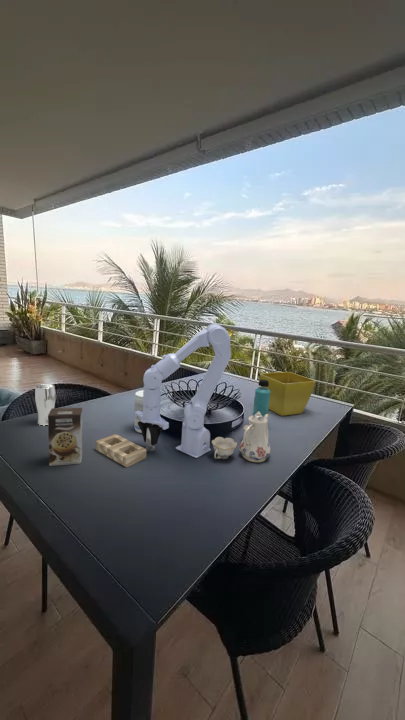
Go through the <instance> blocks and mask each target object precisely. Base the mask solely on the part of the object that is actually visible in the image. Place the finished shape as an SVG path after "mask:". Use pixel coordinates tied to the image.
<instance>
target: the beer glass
mask: <svg viewBox="0 0 405 720" xmlns="http://www.w3.org/2000/svg"><path fill="white" fill-rule="evenodd" d="M34 389H35V390H34V395H35V396H34V400H35V405H36V410H37V413H38V414H37V416H38V417H37V418H38V419H37V425H38V424H39V425H38V426H40V425H43V426H42V427H46V426H45V425H48V415H49V412H50V411H51V409H52V408H55V406H56V405H55V404H56V389H55V384H53V383H41V384H37V385H35V388H34Z"/></svg>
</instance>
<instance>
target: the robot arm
mask: <svg viewBox="0 0 405 720" xmlns="http://www.w3.org/2000/svg"><path fill="white" fill-rule="evenodd" d="M231 340H232V339H231V337H230V334H229V332H228V331H227V329H226V328H225V327H224V326H221V325H220V324H218V323H210V324H208V325H207V326H206V328H203V329H201V330H200V331H199V332H197V333H196V334H195V335H194V336H193V337H192V338H191V339H190V340H188V341H187V342H185V344H184V345H183V346H182V347H181V348H179V349H178V350H177V351H175V353H167V354H163V355H162V357H161V358H162V359H160V360H159V361H157V362H156V364H152V365H151V366H150V368H148V369H146V370H145V372H144V374H143V378H142V379H143V380H142V381H143V390H144V391H143V412H142V411H137V412H135V411H134V418H135V417H136V418H141V421H139V422H138V425H139V427H140V429H141V431H142V433H141V434H142V439H143V441H144V443H146V429H147V426H149V427H148V428H149V431H150V435H151V445H155V446H156V445H157V444H158V441H159V439H160V436H161V433H162V431H163V430H164V431H165V430H167V429H169V428H170V423H169V422H168V421H167V420H165V419H164V418H163V417H161V400H162V399H161V395H162V393H161V392H162V391H161V386H162V382H163V381H164V380H166V379H167V378H169V377H170V375H172V374H173V373H175V372H176V371H177V370H179V368H181V362H182V361H183V360H185V359H186V358H187V357H188V356H190V355H191V354H193V353H194V352H196V351H197V350H198V349H199V348H204V347H210V344H211V347H212V350H213V352H214V356H213V359H212V361H211V362H210V365H209V367H208V368H207V370H206V372H205V375H204V377H203V379H202V380H201V383H200V384H199V386H198V388H197V390H196V392H195V395H194V396H193V397H191V399H190V400H189V402H188V403H187V404H186V405H184V407H183V414H184V420H183V422H182V423H181V424H182V427H181V444H180V445H177V446H176V447H175V449H176V450H177V451H180V452H182V453H184V454H187V455H189V456H190V457H193V458H195V459H198V458H200V457H201V456H203V455H205V454H206V453H208V452H210V451H212V450H211V448H210V446H211V445H210V444H211V432H210V430H209V429H207V428H206V427H205V426H204V422H205V415H206V413H207V408H208V403H209V402H210V400H211V397H212V395H213V394H214V391H215V390H216V388H217V386H218V384H219V382H220V380H221V378H222V376H223V375H224V374H223V373H224V371H225V370H226V368H227V366H228V364H229V362H230V360H231V357H232V348H231V347H232V346H231ZM209 343H210V344H209ZM152 424H153V425H152ZM150 425H152V426H150Z"/></svg>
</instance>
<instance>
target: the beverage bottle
mask: <svg viewBox="0 0 405 720" xmlns="http://www.w3.org/2000/svg"><path fill="white" fill-rule="evenodd" d="M261 386H263V387H261ZM268 386H269V381H267V380H260V379H259V380H258V387H257V388H255V390H254V391H255V392H254V393H255V394H254V399H253V409H252V410H253V412H252V416H254V415H255V414H256V413H257V412H258V411H259V412H260V413H261V415H262V416H263V417H264V416H265V414H269V410H270V409H269V400H270V390H269V389H268V388H266V387H268ZM267 419H269V417H268V418H267Z"/></svg>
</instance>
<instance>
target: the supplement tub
mask: <svg viewBox="0 0 405 720" xmlns="http://www.w3.org/2000/svg"><path fill="white" fill-rule="evenodd" d="M143 391H144V389H143V390H138V391H136V392H135V395H134V413H135V412H137V411H142V412H143ZM139 421H141V418H136V417H135V416H134V425H133V426H134V429H135V431H136V432H137V433H140V434H142V431H141V429H140V427H139V425H138V422H139ZM152 425H153V424H152Z"/></svg>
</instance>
